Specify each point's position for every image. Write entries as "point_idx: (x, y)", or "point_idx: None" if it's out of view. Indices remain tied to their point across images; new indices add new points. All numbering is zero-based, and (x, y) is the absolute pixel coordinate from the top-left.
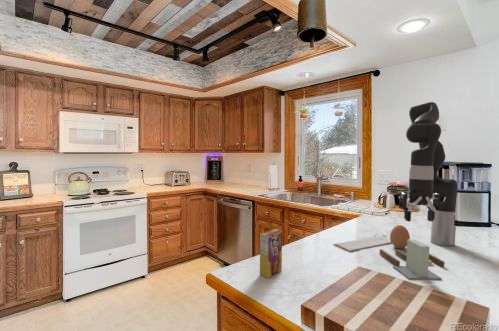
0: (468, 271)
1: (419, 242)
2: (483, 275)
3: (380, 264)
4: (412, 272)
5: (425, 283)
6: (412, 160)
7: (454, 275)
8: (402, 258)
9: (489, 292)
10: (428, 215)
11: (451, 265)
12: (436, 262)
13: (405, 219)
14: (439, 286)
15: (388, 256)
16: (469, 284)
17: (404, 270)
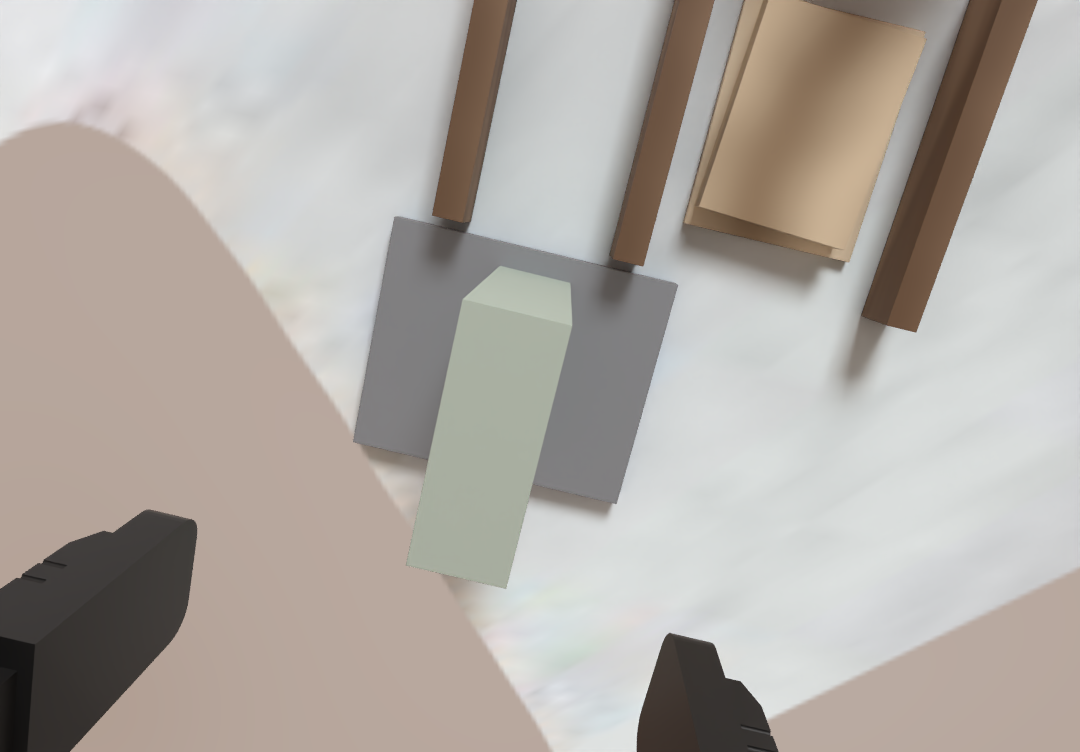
0: (1027, 426)
1: (526, 438)
2: (1060, 510)
3: (338, 117)
4: None
5: None
6: None
7: (813, 456)
8: (660, 60)
9: (771, 693)
10: (681, 728)
11: (1023, 293)
12: (894, 255)
13: (147, 516)
14: None
15: (465, 56)
16: (762, 588)
17: (427, 321)
